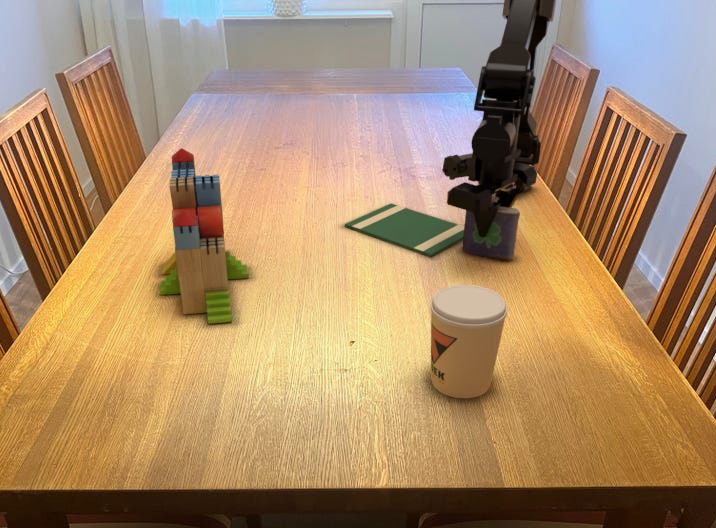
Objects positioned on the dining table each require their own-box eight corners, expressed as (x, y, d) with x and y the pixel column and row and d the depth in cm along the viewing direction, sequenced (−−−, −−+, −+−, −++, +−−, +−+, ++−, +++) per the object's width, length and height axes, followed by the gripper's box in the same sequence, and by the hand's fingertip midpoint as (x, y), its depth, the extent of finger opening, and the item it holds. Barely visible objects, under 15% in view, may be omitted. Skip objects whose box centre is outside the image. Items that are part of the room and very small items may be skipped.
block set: (255, 321, 111) (246, 197, 100) (158, 329, 109) (139, 203, 98) (243, 243, 134) (235, 136, 124) (163, 248, 132) (148, 140, 122)
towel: (390, 206, 149) (391, 202, 149) (475, 233, 138) (476, 229, 137) (344, 226, 140) (344, 223, 140) (431, 257, 129) (431, 254, 129)
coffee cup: (418, 363, 101) (424, 284, 95) (486, 360, 102) (496, 281, 95) (432, 404, 93) (439, 321, 87) (505, 400, 94) (517, 318, 88)
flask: (515, 257, 129) (523, 198, 123) (509, 264, 127) (517, 205, 121) (464, 246, 133) (470, 189, 127) (458, 253, 131) (463, 195, 125)
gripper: (487, 121, 129) (477, 206, 138) (422, 146, 118) (417, 237, 126) (544, 133, 123) (531, 222, 132) (483, 161, 112) (472, 256, 120)
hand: (487, 233), depth 128 cm, fingers closed on flask, 3 cm apart
